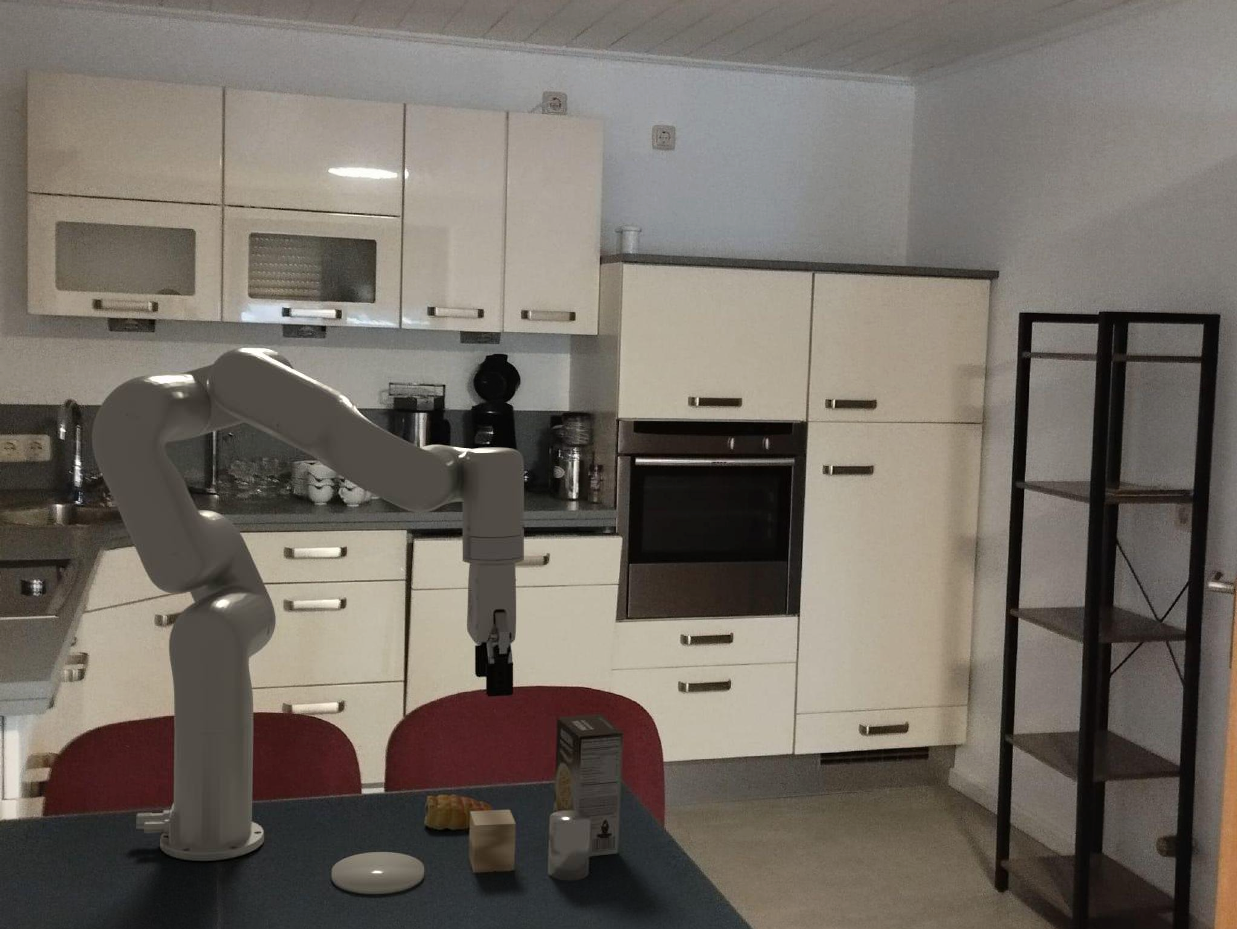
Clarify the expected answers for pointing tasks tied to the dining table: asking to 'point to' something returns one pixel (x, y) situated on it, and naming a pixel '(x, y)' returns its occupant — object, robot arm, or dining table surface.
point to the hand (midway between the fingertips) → (493, 685)
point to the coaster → (377, 873)
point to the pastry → (451, 811)
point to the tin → (569, 845)
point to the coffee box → (590, 776)
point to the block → (492, 840)
